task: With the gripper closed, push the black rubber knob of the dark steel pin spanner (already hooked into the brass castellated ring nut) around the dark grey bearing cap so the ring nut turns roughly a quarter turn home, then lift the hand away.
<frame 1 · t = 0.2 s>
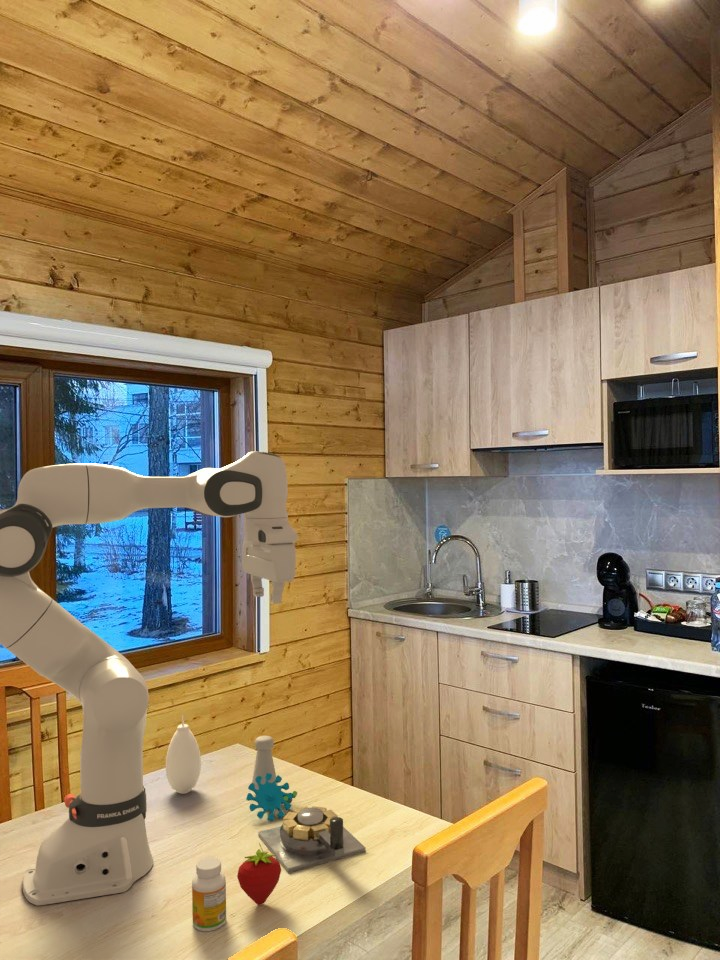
hand: (267, 599, 153), 47 cm above the table, fingers open, 8 cm apart
strawberry: (259, 905, 128), on the table
supplement bottle: (209, 923, 123), on the table
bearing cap: (310, 843, 149), on the table
salt shaker: (264, 795, 172), on the table
ring nut: (318, 819, 145), point 6 cm above the table, hinge at 0.0°
white air blower bulb: (183, 793, 173), on the table
teal virus model: (272, 814, 162), on the table
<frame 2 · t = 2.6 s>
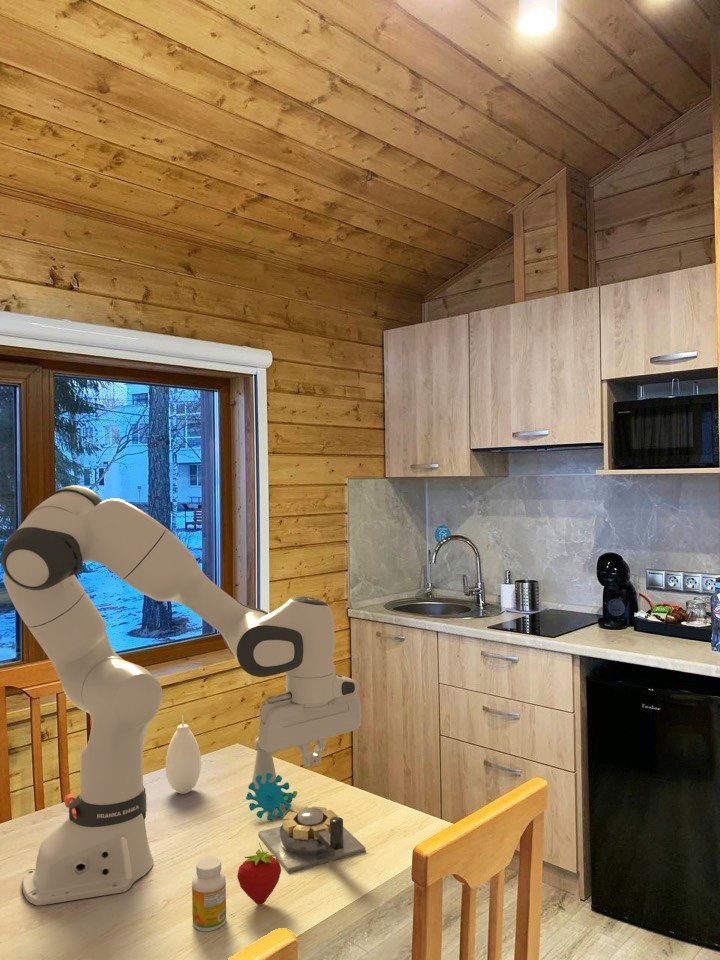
hand: (311, 764, 135), 21 cm above the table, fingers closed
nothing on the table moved.
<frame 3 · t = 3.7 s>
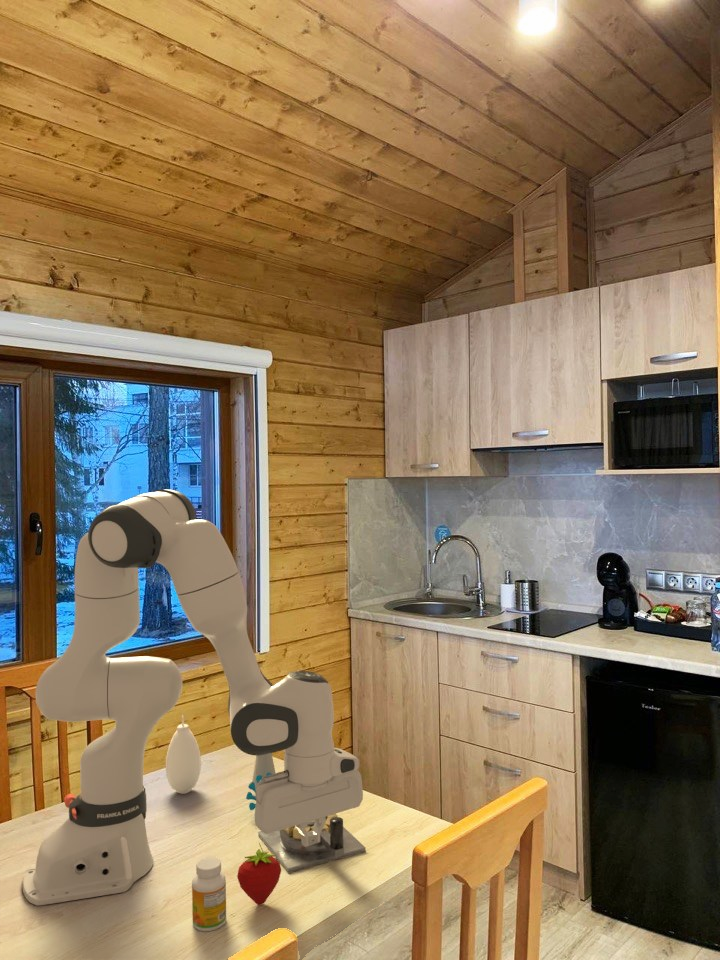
hand: (310, 843, 133), 8 cm above the table, fingers closed
nothing on the table moved.
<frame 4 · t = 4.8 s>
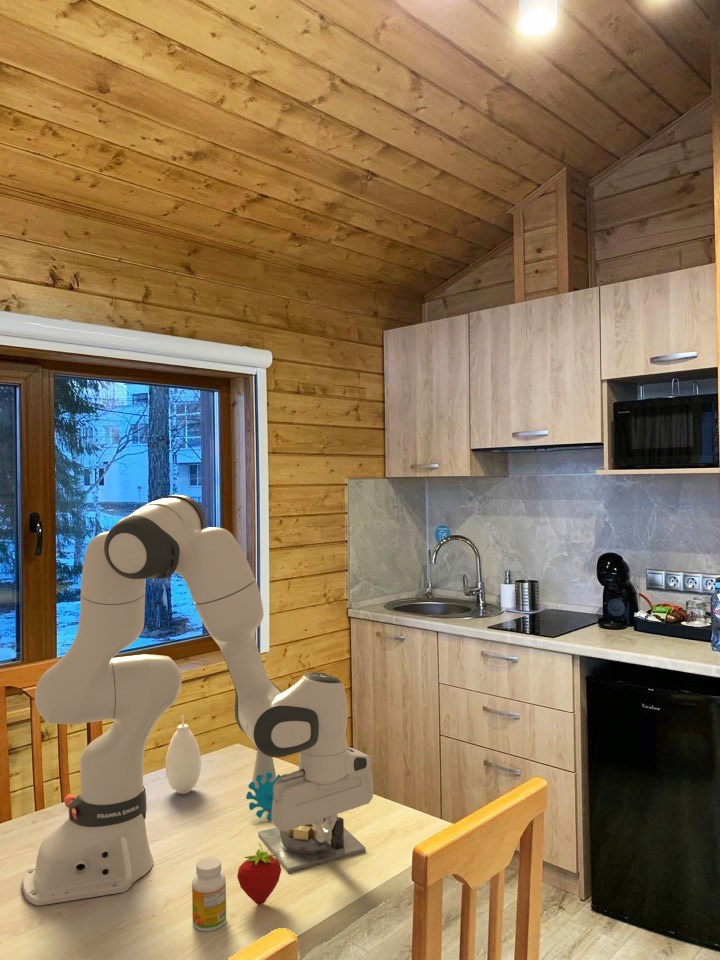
hand: (324, 839, 136), 7 cm above the table, fingers closed
ring nut: (318, 819, 145), point 6 cm above the table, hinge at 0.6°, touching gripper
everything else where it was.
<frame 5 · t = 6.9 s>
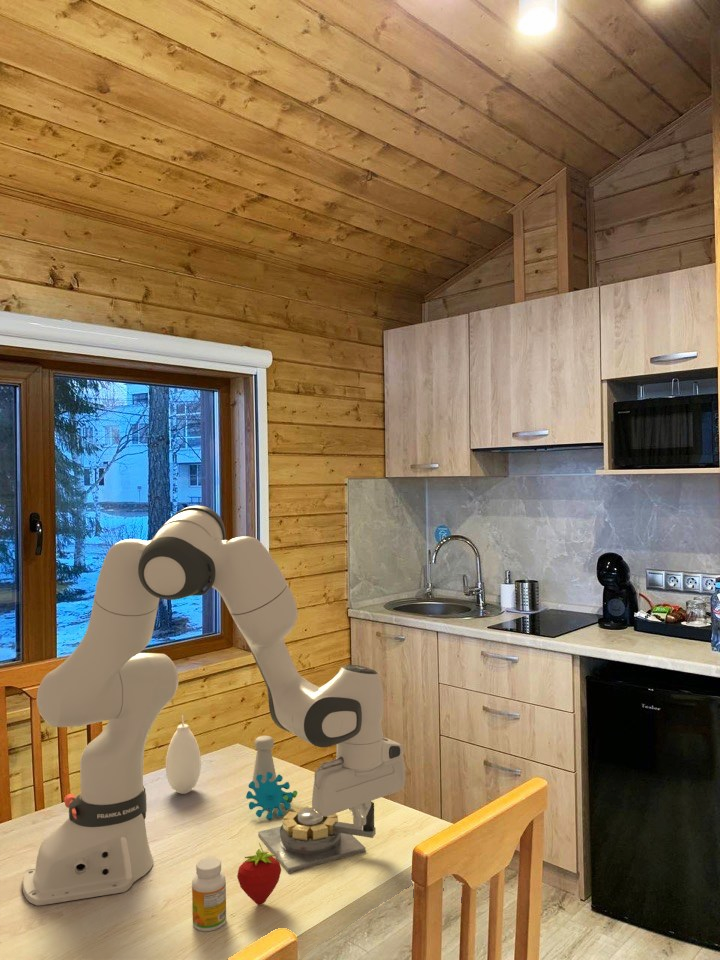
hand: (359, 825, 142), 7 cm above the table, fingers closed
ring nut: (329, 814, 147), point 6 cm above the table, hinge at 43.1°, touching gripper
everything else where it was.
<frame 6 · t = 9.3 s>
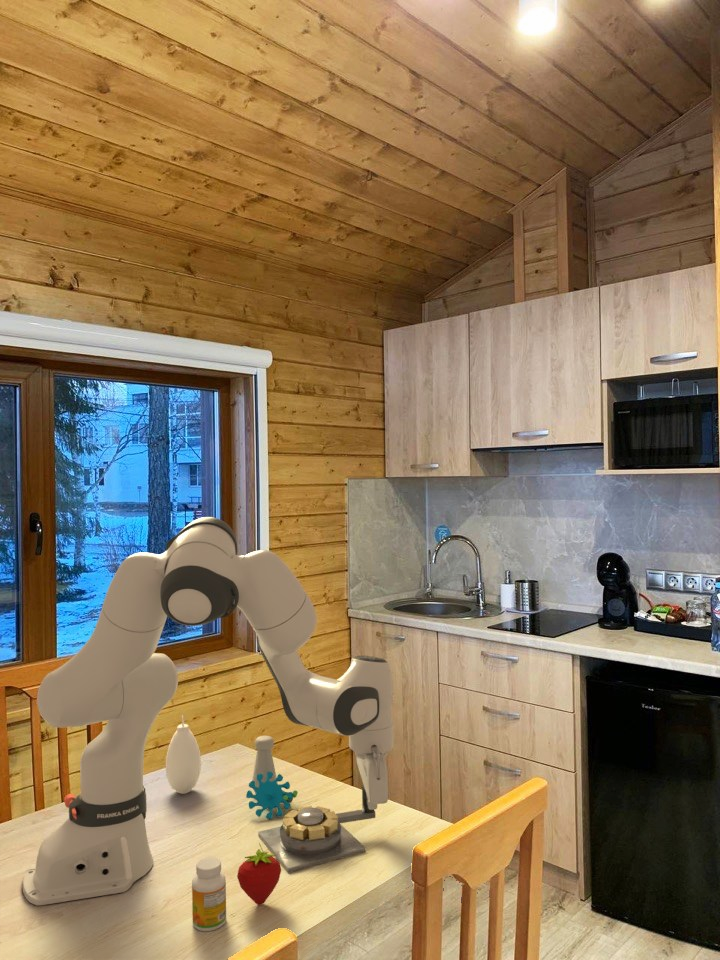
hand: (372, 807, 149), 7 cm above the table, fingers closed
ring nut: (329, 808, 150), point 6 cm above the table, hinge at 80.2°, touching gripper
everything else where it was.
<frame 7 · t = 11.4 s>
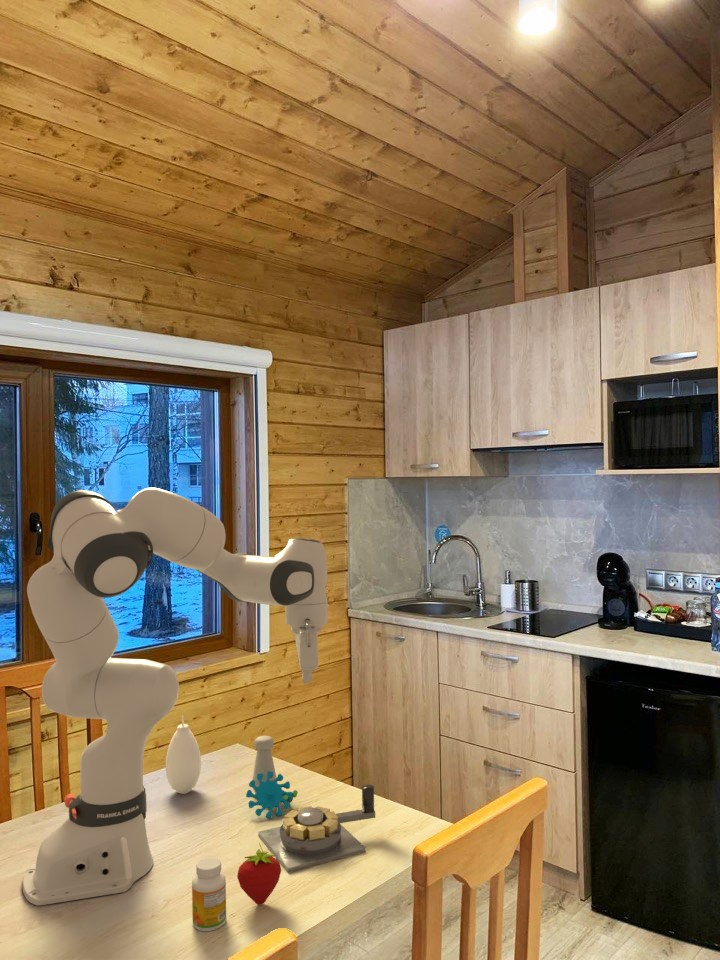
hand: (306, 681, 158), 29 cm above the table, fingers closed
ring nut: (329, 808, 150), point 6 cm above the table, hinge at 80.5°
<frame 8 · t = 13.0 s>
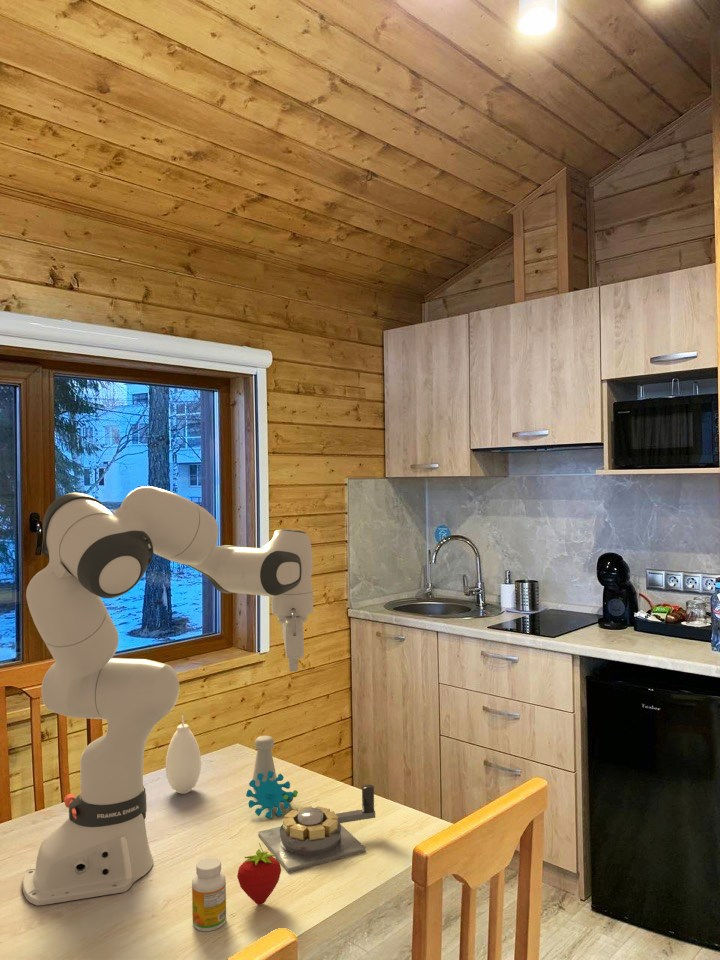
hand: (293, 669, 161), 31 cm above the table, fingers closed
at the end: ring nut at +80° (first picture: +0°); ring nut touching nothing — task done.
